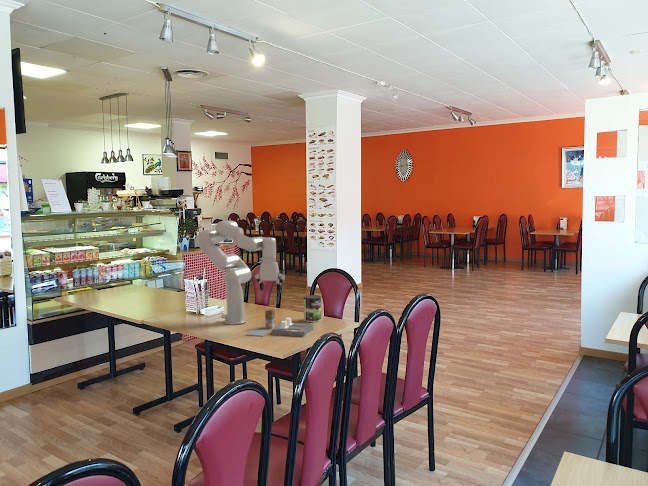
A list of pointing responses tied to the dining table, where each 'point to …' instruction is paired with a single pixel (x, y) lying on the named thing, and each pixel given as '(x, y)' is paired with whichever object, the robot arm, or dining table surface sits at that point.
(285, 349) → the dining table surface
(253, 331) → the mat
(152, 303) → the dining table surface
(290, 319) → the tab
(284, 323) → the tab
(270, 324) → the brown grey cylinder
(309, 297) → the coffee can
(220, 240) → the robot arm
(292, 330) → the switch panel
